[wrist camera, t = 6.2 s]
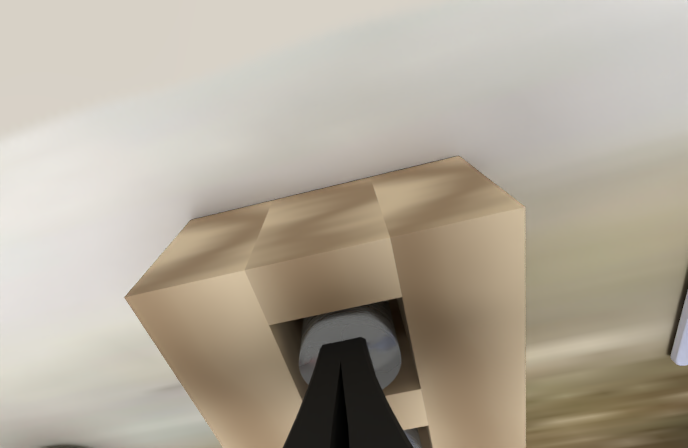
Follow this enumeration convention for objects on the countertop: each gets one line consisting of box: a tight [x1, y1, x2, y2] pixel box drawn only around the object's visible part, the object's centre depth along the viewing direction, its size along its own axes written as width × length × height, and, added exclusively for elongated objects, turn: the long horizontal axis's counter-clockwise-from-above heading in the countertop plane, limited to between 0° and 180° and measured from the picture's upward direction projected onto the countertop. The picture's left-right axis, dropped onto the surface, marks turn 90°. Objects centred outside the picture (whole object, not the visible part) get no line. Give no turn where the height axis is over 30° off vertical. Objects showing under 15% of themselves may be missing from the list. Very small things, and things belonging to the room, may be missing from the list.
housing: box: [124, 156, 526, 448], centre depth 14 cm, size 11×13×5 cm
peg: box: [299, 300, 401, 389], centre depth 13 cm, size 3×3×5 cm
